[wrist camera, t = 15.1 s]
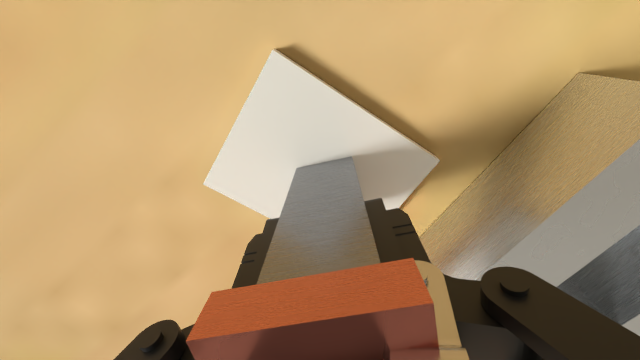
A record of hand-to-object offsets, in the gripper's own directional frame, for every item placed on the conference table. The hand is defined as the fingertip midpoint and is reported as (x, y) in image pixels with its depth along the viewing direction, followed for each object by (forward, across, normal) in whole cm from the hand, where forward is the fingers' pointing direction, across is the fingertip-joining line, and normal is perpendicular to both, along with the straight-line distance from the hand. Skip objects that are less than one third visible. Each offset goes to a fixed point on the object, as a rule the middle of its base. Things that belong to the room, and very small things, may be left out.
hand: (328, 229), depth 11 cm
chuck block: (+6, -13, +6) cm, 16 cm away
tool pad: (+6, 0, 0) cm, 6 cm away
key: (+5, 0, +1) cm, 5 cm away
